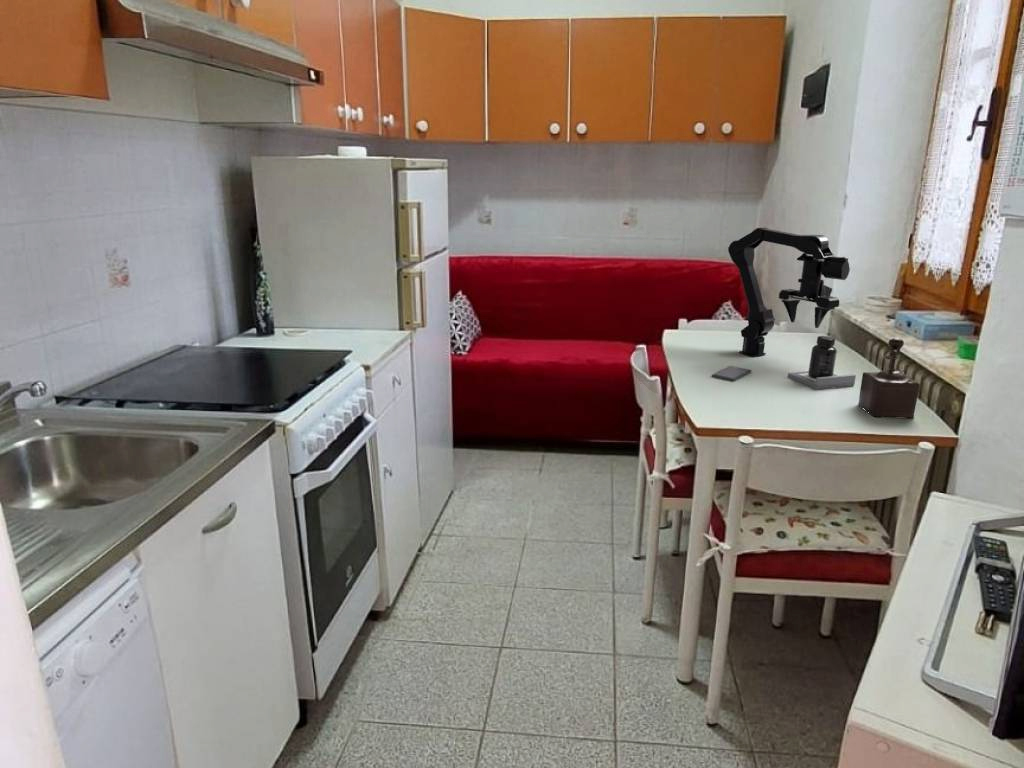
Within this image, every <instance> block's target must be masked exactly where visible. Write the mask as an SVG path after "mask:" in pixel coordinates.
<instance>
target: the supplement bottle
mask: <svg viewBox="0 0 1024 768" xmlns="http://www.w3.org/2000/svg"><path fill="white" fill-rule="evenodd" d="M815 343H816V344H815V345H814V346H813V347H812V349H811V352H810V353H811V354H810V360H809V366H808V371H809V372H808V375H809V376H810V377H812V378H815V379H816V378H819V377H829V376H833V374H835V366H836V359H837V353H838V351H837V348H836V347H835V344H836V338H835V337H832V336H827V335H820V336H817V338H816V342H815Z"/></svg>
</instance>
